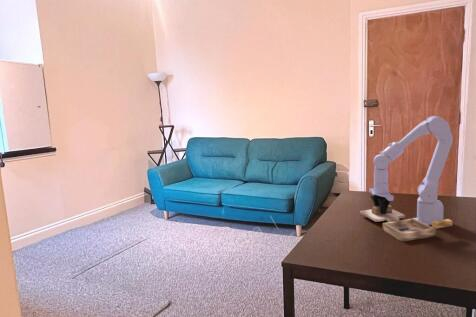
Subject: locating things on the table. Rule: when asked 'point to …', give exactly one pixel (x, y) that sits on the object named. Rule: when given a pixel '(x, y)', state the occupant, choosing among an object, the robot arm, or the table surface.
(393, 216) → the lid
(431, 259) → the table surface
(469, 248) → the table surface
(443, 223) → the light wooden bar
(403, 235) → the wooden tray
